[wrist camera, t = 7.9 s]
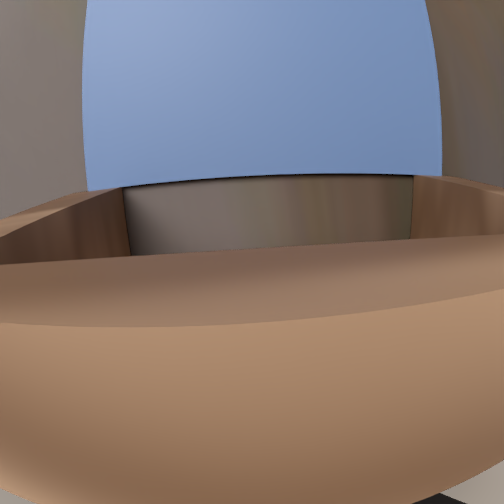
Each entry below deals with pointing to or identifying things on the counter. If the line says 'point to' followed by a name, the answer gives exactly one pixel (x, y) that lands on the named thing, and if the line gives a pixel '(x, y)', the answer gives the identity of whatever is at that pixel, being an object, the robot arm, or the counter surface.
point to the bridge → (251, 360)
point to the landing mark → (257, 89)
